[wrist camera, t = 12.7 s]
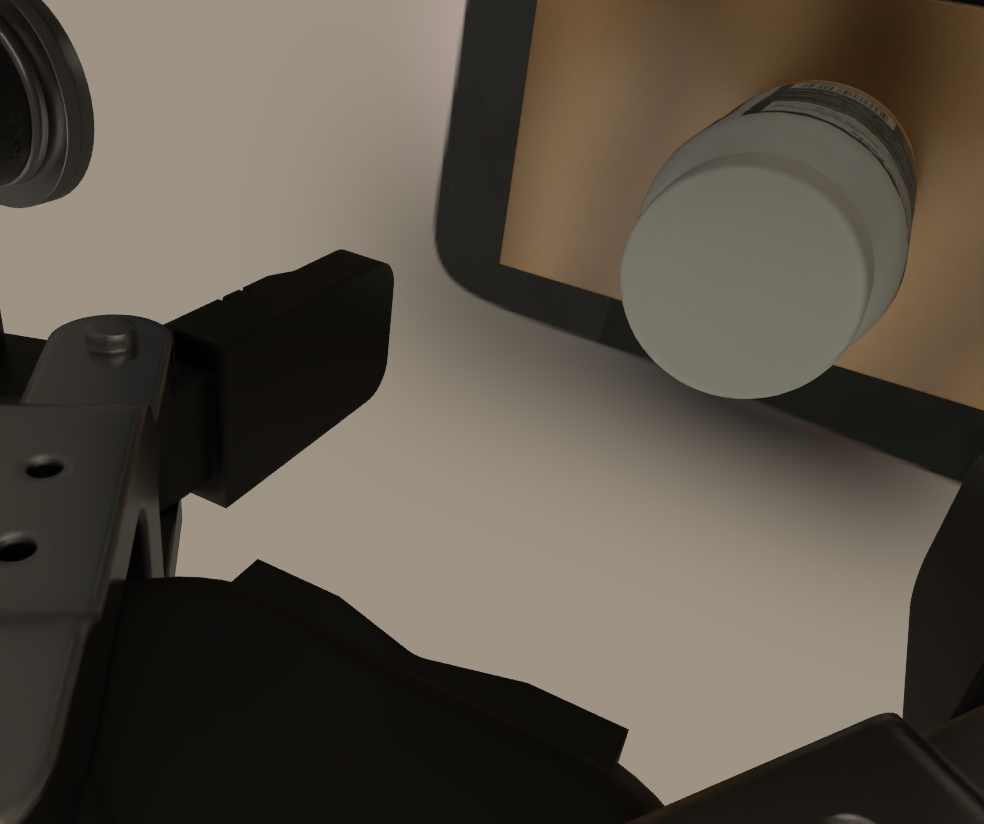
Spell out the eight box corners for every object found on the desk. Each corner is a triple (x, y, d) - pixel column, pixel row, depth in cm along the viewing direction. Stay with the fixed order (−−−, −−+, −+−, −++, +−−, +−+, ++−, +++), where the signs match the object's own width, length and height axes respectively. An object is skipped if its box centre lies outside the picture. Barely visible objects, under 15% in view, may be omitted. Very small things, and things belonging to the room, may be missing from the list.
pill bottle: (757, 310, 27) (672, 461, 19) (671, 140, 26) (542, 225, 18) (955, 229, 24) (951, 369, 16) (865, 30, 23) (813, 72, 15)
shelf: (573, 214, 36) (499, 264, 30) (624, -64, 31) (546, -67, 25) (1057, 347, 30) (1080, 440, 25) (1218, 36, 25) (1294, 61, 19)
